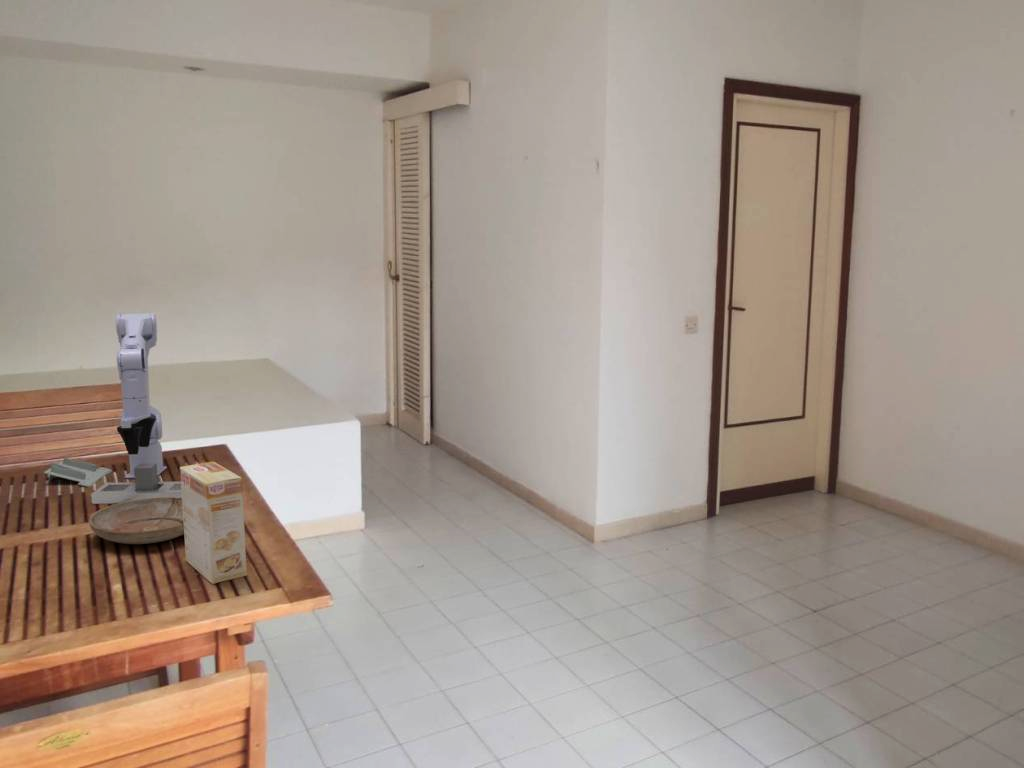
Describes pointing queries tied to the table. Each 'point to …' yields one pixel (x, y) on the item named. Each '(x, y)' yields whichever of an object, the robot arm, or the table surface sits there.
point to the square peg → (146, 477)
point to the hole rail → (133, 492)
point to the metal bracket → (77, 471)
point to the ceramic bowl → (140, 521)
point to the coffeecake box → (213, 521)
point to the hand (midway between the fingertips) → (138, 450)
